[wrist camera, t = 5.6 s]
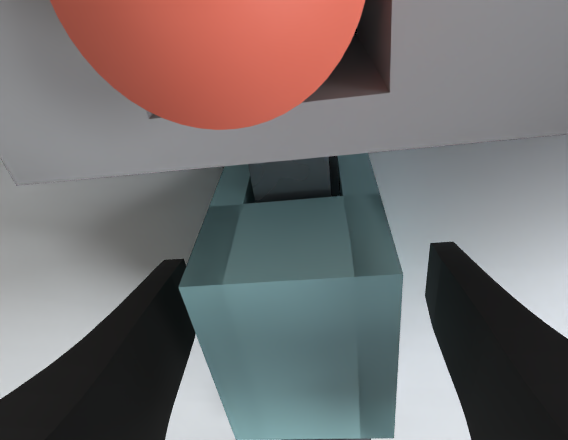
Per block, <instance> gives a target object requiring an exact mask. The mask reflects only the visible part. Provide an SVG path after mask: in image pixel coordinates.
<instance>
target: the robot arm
mask: <svg viewBox="0 0 568 440" xmlns="http://www.w3.org/2000/svg"><path fill="white" fill-rule="evenodd" d="M185 269H186V264H185V261H184V259H172V260H164V261H163V262H162V263H161V264H160V265H159V266H157V267H156V268H155V269H154V270H153V271H152V272H151V273H150V275H149V276H148V277H147V278H146V279H145V280H144V281H143V282H142V283H141V284H140V285H139V286H138V287H137V288H136V289H135V290H134V291H133V292H132V293H131V294H130V295H129V296H128V297H127V298H126V299H125V300H124V301H123V302H122V303H121V304H120V305H119V306H118V307H117V308H116V309H115V310H114V311H112V312H111V313H110V314H109V315H108V316H107V317H106V318H105V319H104V320H103V321H102V322H101V323H99V324H98V325H97V326H96V327H95V328H94V329H93V330H92V331H91V332H90V333H89V334H87V335H86V336H85V337H84V338H83V339H82V340H80V341H79V342H78V343H77V344H76V345H74V346H73V347H72V348H71V349H70V350H68V351H67V352H66V353H65V354H63V355H62V356H61V357H59V358H58V359H57V360H56V361H54V362H53V363H52V364H50V365H49V366H48V367H46V368H45V369H44V370H42V371H41V372H39V373H38V374H36V375H35V376H34V377H32V378H31V379H29V380H28V381H27V382H25V383H24V384H22V385H21V386H19V387H18V388H17V389H15V390H14V391H12V392H11V393H9V394H8V395H6V396H5V397H3V398H2V399H0V440H165V437H166V432H167V427H168V423H169V419H170V415H171V412H172V408H173V405H174V402H175V399H176V395H177V392H178V389H179V386H180V383H181V380H182V377H183V374H184V370H185V367H186V364H187V361H188V358H189V355H190V351H191V348H192V345H193V342H194V338H195V334H196V333H195V330H194V327H193V325H192V322H191V319H190V317H189V314H188V311H187V309H186V306H185V303H184V301H183V298H182V296H181V293H180V290H179V288H178V287H179V284H180V282H181V279H182V276H183V274H184V271H185ZM425 298H426V302H427V306H428V311H429V315H430V319H431V323H432V327H433V330H434V333H435V336H436V338H437V341H438V344H439V347H440V349H441V352H442V355H443V357H444V360H445V363H446V365H447V368H448V371H449V373H450V376H451V379H452V381H453V384H454V387H455V389H456V392H457V395H458V397H459V400H460V403H461V406H462V409H463V412H464V415H465V418H466V421H467V425H468V429H469V432H470V436H471V440H568V339H567V338H566V337H564V336H563V335H561V334H560V333H559V332H557V331H556V330H554V329H553V328H552V327H550V326H549V325H547V324H546V323H545V322H543V321H542V320H541V319H540V318H538V317H537V316H536V315H534V314H533V313H532V312H531V311H529V310H528V309H527V308H526V307H524V306H523V305H522V304H521V303H520V302H518V301H517V300H516V299H515V298H514V297H512V296H511V295H510V294H509V293H508V292H507V291H506V290H504V289H503V288H502V287H501V286H500V285H499V284H498V283H496V282H495V281H494V280H493V279H492V278H491V277H490V276H489V275H488V274H487V273H486V272H484V271H483V270H482V269H481V268H480V267H479V266H478V265H477V264H476V263H475V262H474V261H473V260H472V259H471V258H470V257H469V256H468V255H467V254H466V253H465V252H464V251H463V250H461V249H460V248H459V247H458V246H457V245H456V244H455V243H454V242H441V243H430V252H429V262H428V272H427V281H426V291H425Z"/></svg>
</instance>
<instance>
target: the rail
mask: <svg viewBox="0 0 568 440" xmlns="http://www.w3.org/2000/svg"><path fill="white" fill-rule="evenodd" d="M248 167H249V172H250V177H251V182H252V187H253V192H254V197H255V202H256V203H261V202H273V201H286V200H298V199H310V198H322V197H331V186H330V171H329V157H318V158H308V159H297V160H286V161H275V162H265V163H254V164H248ZM284 440H371V438H362V439H284Z"/></svg>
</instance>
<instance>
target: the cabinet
mask: <svg viewBox="0 0 568 440" xmlns="http://www.w3.org/2000/svg"><path fill="white" fill-rule="evenodd" d="M565 134H568V0H365V3H364V7H363V10H362V14H361V17H360V21H359V23H358V26H357V35H356V36H353V38H352V40H351V42H350V44H349V46H348V48H347V50H346V51H345V53H344V55H343V57H342V59H341V60H340V62H339V63H338V65H337V66H336V67H335V69H334V70H333V71H332V73H331V74H330V76H329V77H328V78H327V79H326V80H325V81H324V82H323V84H322V85H321V86H320V87H319V88H318V89H317V90H316V91H315V92H314V93H313V94H312V95H310V96H309V97H308V98H307V99H305V100H304V101H303V102H302V103H301V104H299V105H298V106H296V107H294V108H293V109H291V110H290V111H288V112H286V113H285V114H283V115H281V116H279V117H276V118H274V119H272V120H270V121H267V122H264V123H261V124H257V125H254V126H251V127H245V128H239V129H228V130H212V129H200V128H195V127H190V126H186V125H181V124H178V123H175V122H172V121H169V120H166V119H164V118H161V117H159V116H157V115H155V114H153V113H151V112H149V111H147V110H145V109H143V108H142V107H140V106H138V105H137V104H135V103H133V102H132V101H130V100H129V99H127V98H126V97H125V96H123V95H122V94H121V93H120V92H118V91H117V90H116V89H114V88H113V87H112V86H111V85H110V84H109V83H108V82H107V81H106V80H105V79H103V78H102V77H101V76H100V75H99V74H98V73H97V72H96V71H95V69H94V68H93V67H92V66H91V65H90V64H89V63H88V61H87V60H86V59H85V58H84V57H83V56H82V54H81V53H80V51H79V50H78V49H77V47H76V46H75V44H74V43H73V42H72V40H71V39H70V37H69V36H68V34H67V32H66V31H65V29H64V27H63V25H62V24H61V22H60V20H59V19H58V17H57V15H56V13H55V10H54V8H53V6H52V4H51V2H50V0H0V158H1V160H2V162H3V163H4V165H5V167H6V169H7V170H8V172H9V174H10V175H11V177H12V179H13V181H14V182H15V184H16V186H17V185H28V184H39V183H50V182H60V181H71V180H82V179H93V178H103V177H114V176H125V175H136V174H146V173H157V172H168V171H179V170H189V169H200V168H211V167H222V166H232V165H243V164H254V163H265V162H275V161H286V160H297V159H308V158H318V157H329V156H340V155H351V154H361V153H372V152H383V151H394V150H404V149H415V148H426V147H436V146H447V145H458V144H469V143H479V142H490V141H501V140H512V139H522V138H533V137H544V136H555V135H565Z"/></svg>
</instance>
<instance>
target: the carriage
mask: <svg viewBox="0 0 568 440" xmlns="http://www.w3.org/2000/svg"><path fill="white" fill-rule="evenodd" d="M338 173H339V191H340V196H335V197H322V198H310V199H298V200H286V201H273V202H261V203H256V202H255V197H254V192H253V187H252V182H251V177H250V172H249V167H248V164H243V165H232V166H225V167H224V169H223V172H222V175H221V177H220V180H219V182H218V185H217V188H216V190H215V193H214V196H213V198H212V201H211V203H210V206H209V209H208V211H207V214H206V216H205V219H204V222H203V224H202V227H201V229H200V232H199V235H198V237H197V240H196V242H195V245H194V248H193V250H192V253H191V256H190V258H189V261H188V263H187V266H186V269H185V271H184V274H183V276H182V279H181V282H180V284H179V287H178V288H179V290H180V293H181V296H182V298H183V301H184V303H185V306H186V309H187V311H188V314H189V317H190V319H191V322H192V325H193V327H194V330H195V333H196V335H197V338H198V341H199V343H200V346H201V348H202V351H203V354H204V356H205V359H206V362H207V364H208V367H209V370H210V372H211V375H212V378H213V380H214V383H215V386H216V388H217V391H218V393H219V396H220V399H221V401H222V404H223V407H224V409H225V412H226V415H227V417H228V420H229V423H230V425H231V428H232V431H233V433H234V436H235V439H236V440H284V439H362V438H394V427H395V409H396V391H397V373H398V355H399V337H400V320H401V302H402V284H403V272H402V269H401V265H400V262H399V258H398V255H397V252H396V248H395V245H394V241H393V238H392V234H391V231H390V227H389V224H388V221H387V217H386V214H385V210H384V207H383V203H382V200H381V196H380V193H379V190H378V186H377V183H376V179H375V176H374V172H373V169H372V165H371V162H370V159H369V155H368V153H361V154H351V155H340V156H338Z"/></svg>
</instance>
